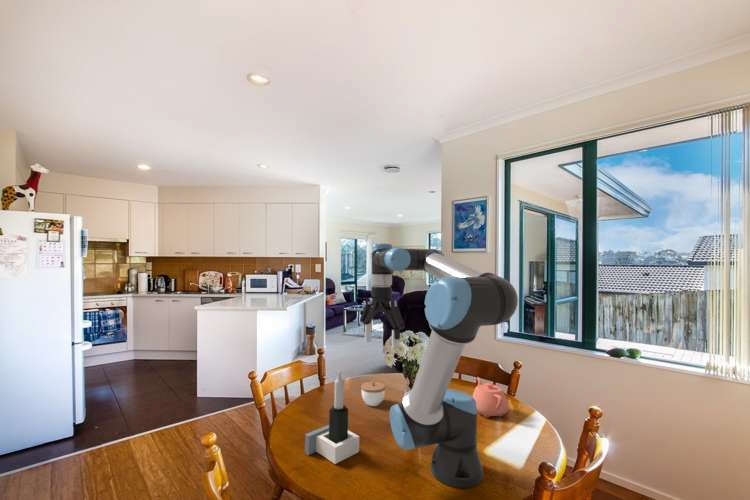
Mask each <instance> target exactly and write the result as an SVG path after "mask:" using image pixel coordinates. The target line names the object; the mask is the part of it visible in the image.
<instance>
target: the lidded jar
mask: <svg viewBox="0 0 750 500" xmlns="http://www.w3.org/2000/svg"><path fill="white" fill-rule="evenodd" d="M360 389H361V392H360V393H361V397H362V400H363V402H364V403H365V404H366V405H367V406H369V407H377V406H379V405H381V404H382V402H383V401H384V398H385V393H386V384H384V383H382V382H379V381H367V382H363V383H362V384H361V386H360Z"/></svg>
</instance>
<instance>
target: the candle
mask: <svg viewBox="0 0 750 500" xmlns="http://www.w3.org/2000/svg"><path fill="white" fill-rule="evenodd" d="M344 388H345V387H344V380H343V379H342V375H341V371H338V372H337V377H336V379H335V381H334V403H333V405H332V406H331V408H329V411H328V415H329V416H328V419H329V420H328V425H329V440H330V441H332V442H334V443H335V444H337V443H339V442H342V441H344V440H346V439H348V430H349V408H348V407H346V405H345V404H344V390H345V389H344Z"/></svg>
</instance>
